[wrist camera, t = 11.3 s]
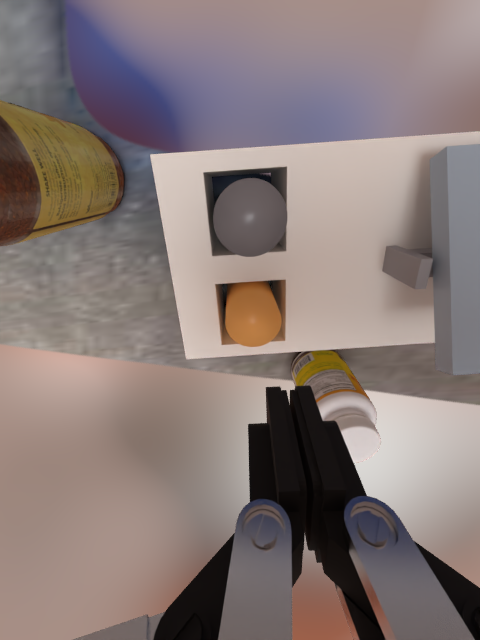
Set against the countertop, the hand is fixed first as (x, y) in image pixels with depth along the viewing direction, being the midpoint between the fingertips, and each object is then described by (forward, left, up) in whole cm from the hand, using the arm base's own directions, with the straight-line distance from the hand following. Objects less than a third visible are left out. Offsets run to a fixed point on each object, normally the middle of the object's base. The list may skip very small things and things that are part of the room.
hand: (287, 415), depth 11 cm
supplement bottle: (-6, +10, -16) cm, 20 cm away
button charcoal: (+1, -7, -14) cm, 15 cm away
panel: (-6, -3, -16) cm, 18 cm away
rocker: (-11, -3, -7) cm, 14 cm away
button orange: (+1, 0, -15) cm, 15 cm away
